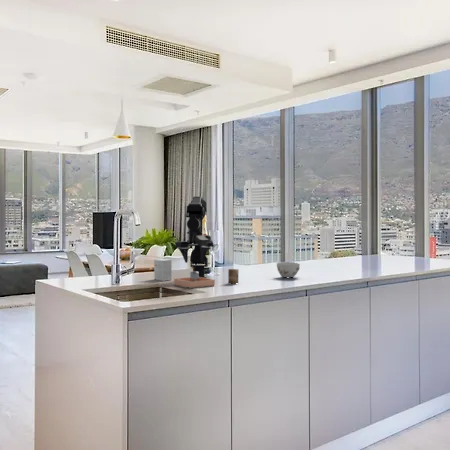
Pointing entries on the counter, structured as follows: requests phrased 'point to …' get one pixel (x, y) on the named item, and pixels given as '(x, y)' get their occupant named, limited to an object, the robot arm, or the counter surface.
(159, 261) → the small box
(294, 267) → the teacup
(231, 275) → the walnut knob
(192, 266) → the robot arm
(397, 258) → the counter surface
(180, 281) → the shallow square tray
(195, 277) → the steel peg
